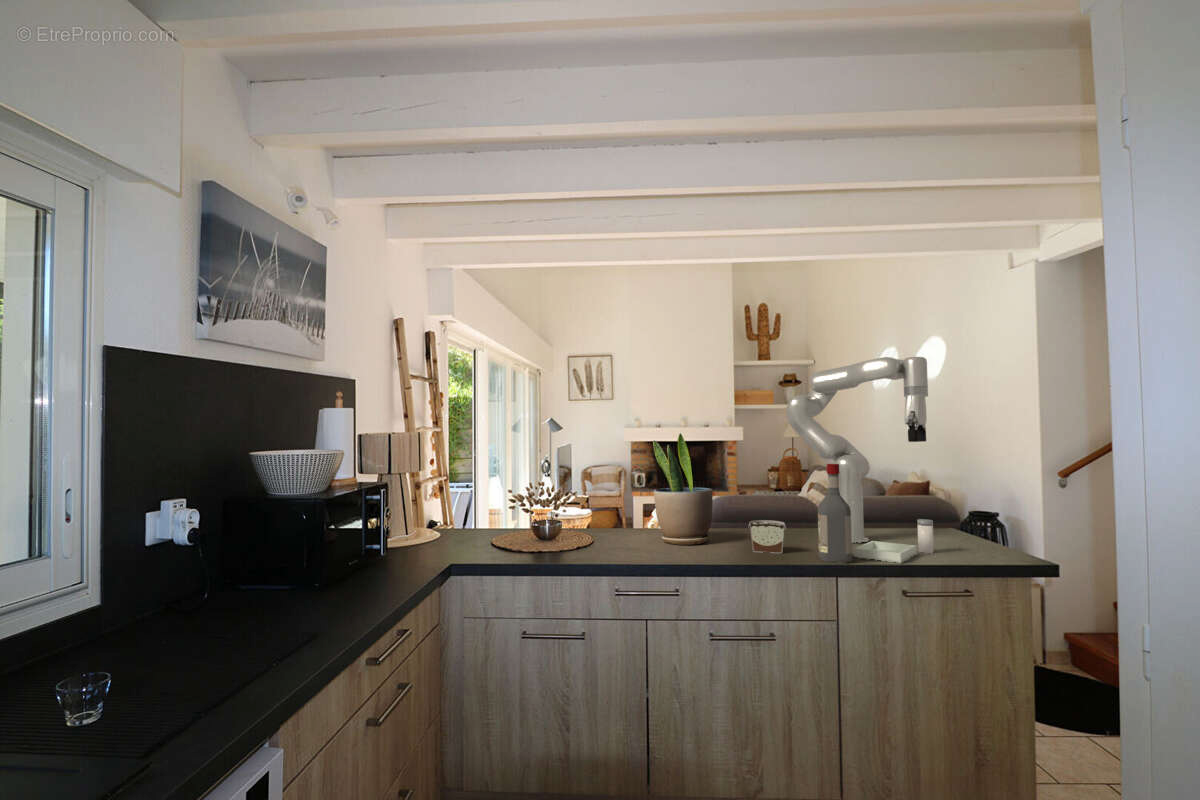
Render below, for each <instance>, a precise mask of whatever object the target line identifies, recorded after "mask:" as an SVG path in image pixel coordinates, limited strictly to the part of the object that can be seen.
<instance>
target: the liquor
mask: <svg viewBox="0 0 1200 800" xmlns="http://www.w3.org/2000/svg"><path fill="white" fill-rule="evenodd" d="M826 474H827V494H826V495H825V497H823V499H822V500H821V501H820V502H819V503H818V506H817V531H818V534H817V535H818V536H817V537H818V538H817V539H818V541H817V542H818V556H819V558H820V560H821V562H823V561H824V563H828V562H842V563H841V564H847V563H846V562H850V563H851V562H852V560H853V551H852V550H853V545H852V544H853V543H852V538H851V510H850V507H849V505H848V504H847V503H846V502H845V501H844V499H843V498H842V497H841V496H840V492H839V477H838V474H839V464H834V463H826Z"/></svg>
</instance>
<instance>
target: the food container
mask: <svg viewBox="0 0 1200 800" xmlns="http://www.w3.org/2000/svg"><path fill="white" fill-rule="evenodd" d="M748 529H749V530H750V536H751V544H752V552H753V553H763V552H770V553H769V554H780V553H782V554H783V549H784V548H783V547H784V536H785V530H787V527H786V524H785V522H784V521H779V520H768V519H767V520H766V519H763V520H762V519H759V520H758V519H757V520H751V521H749V524H748Z"/></svg>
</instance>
